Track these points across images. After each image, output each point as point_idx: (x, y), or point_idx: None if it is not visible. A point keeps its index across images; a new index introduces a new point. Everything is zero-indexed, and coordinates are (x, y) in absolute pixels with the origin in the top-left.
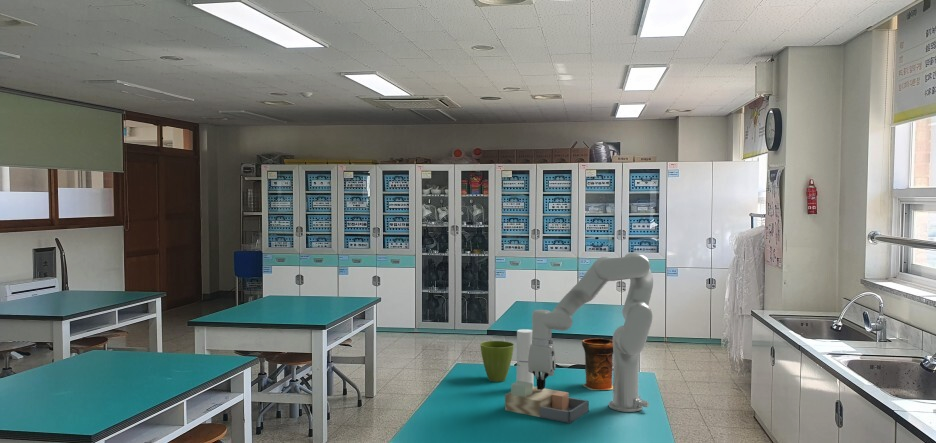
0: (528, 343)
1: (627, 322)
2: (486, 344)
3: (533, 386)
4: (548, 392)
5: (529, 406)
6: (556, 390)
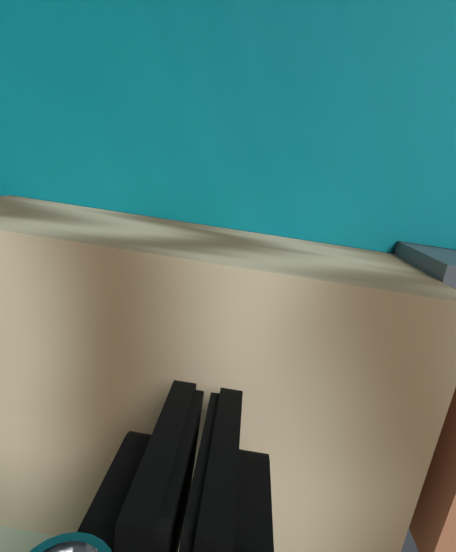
0: None
1: None
2: None
3: (7, 234)
4: (332, 446)
5: None
6: (430, 301)
